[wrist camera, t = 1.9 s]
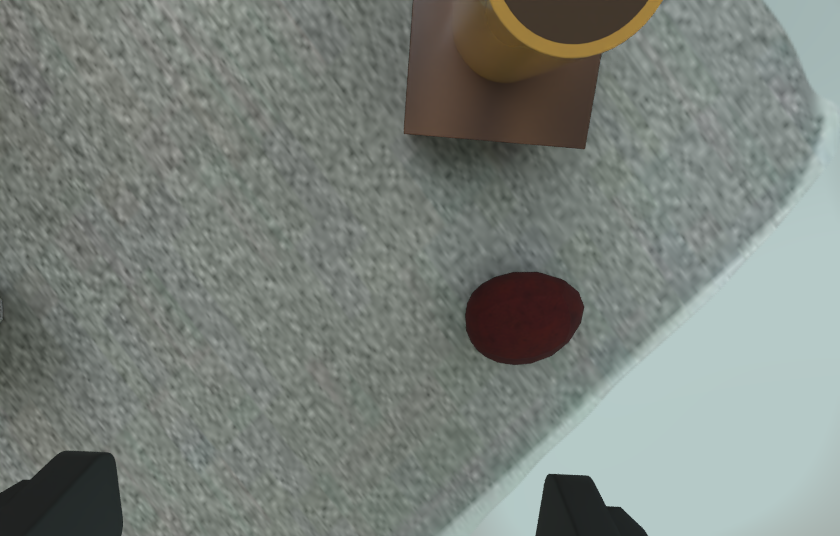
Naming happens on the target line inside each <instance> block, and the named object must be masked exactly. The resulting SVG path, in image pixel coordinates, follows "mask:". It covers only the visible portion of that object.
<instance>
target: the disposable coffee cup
mask: <svg viewBox="0 0 840 536" xmlns="http://www.w3.org/2000/svg"><path fill="white" fill-rule="evenodd" d="M2 320H3V307H2V299H1V298H0V323H1V321H2Z"/></svg>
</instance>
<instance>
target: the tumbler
mask: <svg viewBox="0 0 840 536" xmlns="http://www.w3.org/2000/svg"><path fill="white" fill-rule="evenodd" d="M662 1H663V0H454V4H453V8H452V15H451V27H452V34H453V39H454V42H455V45H456V48H457V50H458V52H459V54H460V56H461V57H462V59H463V60H464V62H465V63H466V64H467V65H468V66H469V68H471V69H472V70H473V71H474V72H475V73H477V74H478V75H480V76H481V77H483V78H486V79H488V80H491V81H494V82H499V83H516V82H520V81H524V80H527V79H530V78H533V77H536V76H538V75H541V74H544V73H547V72H550V71H553V70H555V69H558V68H561V67H564V66H567V65H570V64H572V63H575V62H578V61H581V60H584V59H587V58H590V57H592V56H595V55H598V54H601V53H603V52H606V51H608V50H611V49H613V48H615V47H616V46H618V45H620V44H622V43H623V42H625V41H626V40H628V39H629V38H630V37H632V36H633V35H634V34H635V33H636V32H638V31H639V30H640V29H641V28H642V27H643V26H644V25H645V24H646V23H647V21H648V20H649V19H650V18H651V17H652V15H653V14H654V13H655V11H656V10H657V8H658V7H659V5H660V4H661V2H662Z"/></svg>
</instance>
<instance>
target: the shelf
mask: <svg viewBox="0 0 840 536" xmlns="http://www.w3.org/2000/svg"><path fill="white" fill-rule="evenodd" d="M453 4H454V0H413V7H412V21H411V36H410V50H409V64H408V78H407V92H406V107H405V121H404V134H412V135H424V136H436V137H448V138H460V139H471V140H483V141H495V142H507V143H518V144H530V145H542V146H554V147H566V148H577V149H585V146H586V140H587V134H588V128H589V123H590V117H591V111H592V105H593V100H594V94H595V88H596V82H597V76H598V71H599V65H600V59H601V54H598V55H595V56H592V57H590V58H587V59H584V60H581V61H578V62H575V63H572V64H570V65H567V66H564V67H561V68H558V69H555V70H553V71H550V72H547V73H544V74H541V75H538V76H536V77H533V78H530V79H527V80H524V81H520V82H516V83H499V82H494V81H491V80H488V79H486V78H483V77H481V76H480V75H478V74H477V73H475V72H474V71H473V70H472V69H471V68H469V66H468V65H467V64H466V63H465V62H464V60H463V59H462V57H461V56H460V54H459V52H458V50H457V48H456V45H455V42H454V39H453V34H452V27H451V15H452V8H453Z"/></svg>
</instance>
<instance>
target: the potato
mask: <svg viewBox="0 0 840 536" xmlns="http://www.w3.org/2000/svg"><path fill="white" fill-rule="evenodd" d="M583 310H584V305H583V302H582V300H581V297H580V294H579V292H578V291H577V290H575V289H574V288H573V287H572V286H571V285H569V284H568V283H567V282H566V281H564V280H562V279H559V278H556V277H553V276H549V275H546V274H543V273H539V272H512V273H508V274H504V275H501V276H497V277H494V278H492V279H490V280H488V281H487V282H485V283H483V284H482V285H480V286H479V287H478V288H477V289H476V290H475V291H474V292H473V293H472V295H471V297H470V299H469V301H468V303H467V308H466V313H465V318H466V331H467V333H468V336H469V338H470V341H471V343H472V344H473V345H474V347H475V348H476V349H477V350H478V351H479V352H480V353H481V354H483V355H484V356H485V357H487V358H489V359H491V360H494V361H496V362H499V363H505V364H512V365H519V364H529V363H533V362H536V361H539V360H542V359H544V358H547V357H550V356H552V355H553V354H555V353H556V352H557V351H558V350H560V349H561V348H562V347H563V346H564V345H566V344H567V343H568V342H569V341H570V339H571V338H572V336H573V334H574V333H575V331H576V330H577V328H578V327H579V325H580V323H581V319H582V315H583Z"/></svg>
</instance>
